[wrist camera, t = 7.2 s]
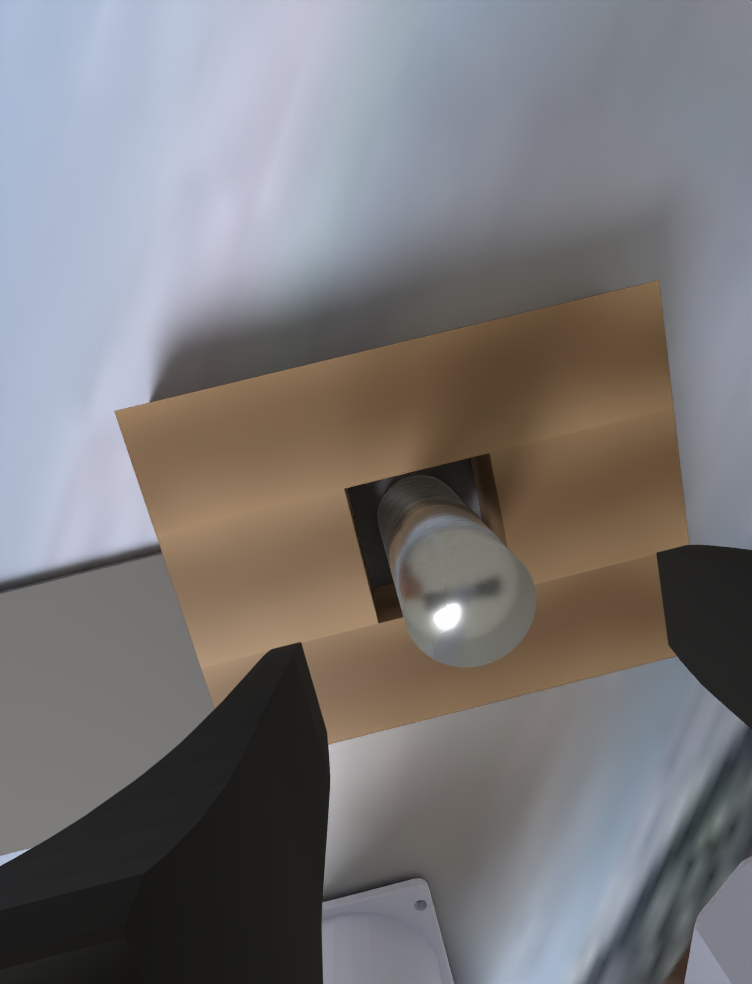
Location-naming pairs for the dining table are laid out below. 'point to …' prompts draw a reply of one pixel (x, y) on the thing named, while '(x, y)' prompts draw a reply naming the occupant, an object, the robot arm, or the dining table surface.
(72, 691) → the mat
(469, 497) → the dining table surface
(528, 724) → the dining table surface
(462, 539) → the peg
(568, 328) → the block
